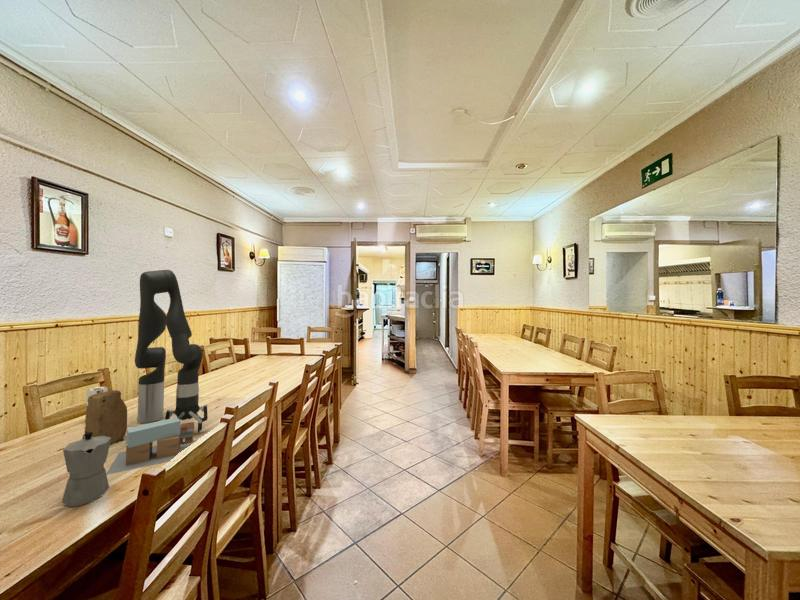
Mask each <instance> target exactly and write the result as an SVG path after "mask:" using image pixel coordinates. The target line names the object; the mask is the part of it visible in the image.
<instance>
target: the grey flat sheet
mask: <svg viewBox="0 0 800 600" xmlns="http://www.w3.org/2000/svg"><path fill="white" fill-rule="evenodd" d="M183 441H185V439H183ZM188 446H190V445H186V446H180V449H179V452H181V451H182V450H184V449H185V448H187V447H188ZM175 456H176V455H174V456H169V457H164V458H159V459H157V445H154V446H153V445H152V455H151V457H150V460H149V461H144V462H139V463H134V464H130V465H126V450H125V451H120V452H118V453H117V455H116V457H115V459H114V461H112V464H111V465H110V466H109V469H108V470H107V471H106V474H107V476H108V475H110V474H111V475H112V474H115V473H116V474H117V473H121V472H126V471H130V470H136V469H140V468H146V467H150V466H155V465H159V464H163V463H168V462H171V461H170V460H171V459H173V458H174V457H175Z"/></svg>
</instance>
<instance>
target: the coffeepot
mask: <svg viewBox="0 0 800 600" xmlns="http://www.w3.org/2000/svg"><path fill="white" fill-rule="evenodd" d="M92 433H93V432H88V433H85V432H84V434H83V435H82V439H78V440H77V441H73V442H71V443H69V444H67V445H66V446H65V447H64V448H62V451H63V456H64V461H65V466H66V467H65V468H66V472H67V473H69V477H68V479H67V481H66V485H65V488H64V492H63V497H62V500H61V503H62V504H63V506H64V507H66V508H75V507H80V506H84V505H87V504H89V503H90V504H91V503H93V502H94V501H97V500H99V499H101V498H103V495H105V494H106V492H107V491H108V489H109V488H110V485H109V480H108V475H107V474H106V473H107V469H106V468H105V466H104V465H105V463H106V462H107V459H108V453H109V450H110V446H111V445H110V441H111V437H107V436H98V437H92ZM92 501H93V502H92Z"/></svg>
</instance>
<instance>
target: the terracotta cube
mask: <svg viewBox="0 0 800 600" xmlns="http://www.w3.org/2000/svg"><path fill="white" fill-rule="evenodd" d="M184 425H187V430H191V429H193V436H194V433H195V421H190V422H185V423H180V431H181V426H184Z"/></svg>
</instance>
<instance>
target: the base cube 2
mask: <svg viewBox="0 0 800 600" xmlns="http://www.w3.org/2000/svg"><path fill="white" fill-rule="evenodd" d="M156 446H157V459H159V458H164V457H169V456H174V455H177V454H178V453H179V449H180V435H177V436H173V437H169V438H165V439H161V440H158V441H156Z"/></svg>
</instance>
